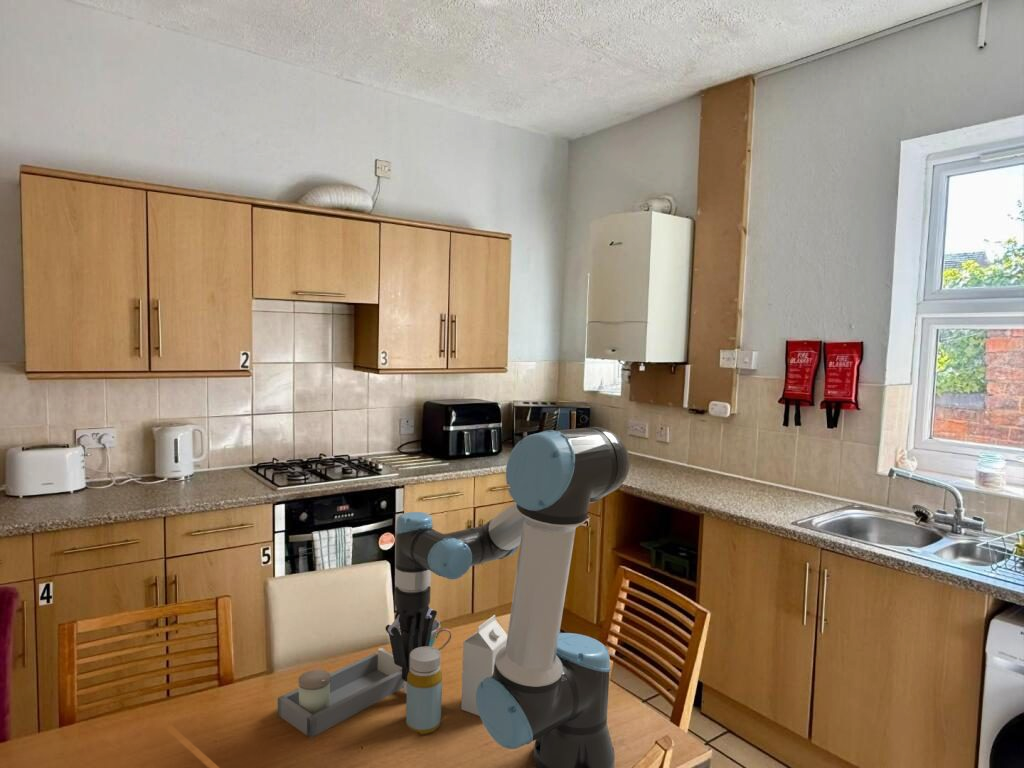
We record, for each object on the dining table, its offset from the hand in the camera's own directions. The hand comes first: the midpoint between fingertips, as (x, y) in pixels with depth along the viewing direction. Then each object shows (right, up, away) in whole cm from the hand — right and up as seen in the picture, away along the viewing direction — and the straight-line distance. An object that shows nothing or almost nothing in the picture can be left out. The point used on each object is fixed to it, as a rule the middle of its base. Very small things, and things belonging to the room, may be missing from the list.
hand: (410, 692), depth 138 cm
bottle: (+4, -3, -8) cm, 9 cm away
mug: (+1, -1, +14) cm, 14 cm away
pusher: (-3, -1, +7) cm, 7 cm away
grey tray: (-14, -2, -1) cm, 14 cm away
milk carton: (+16, -3, -1) cm, 16 cm away
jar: (-18, -1, -7) cm, 20 cm away
